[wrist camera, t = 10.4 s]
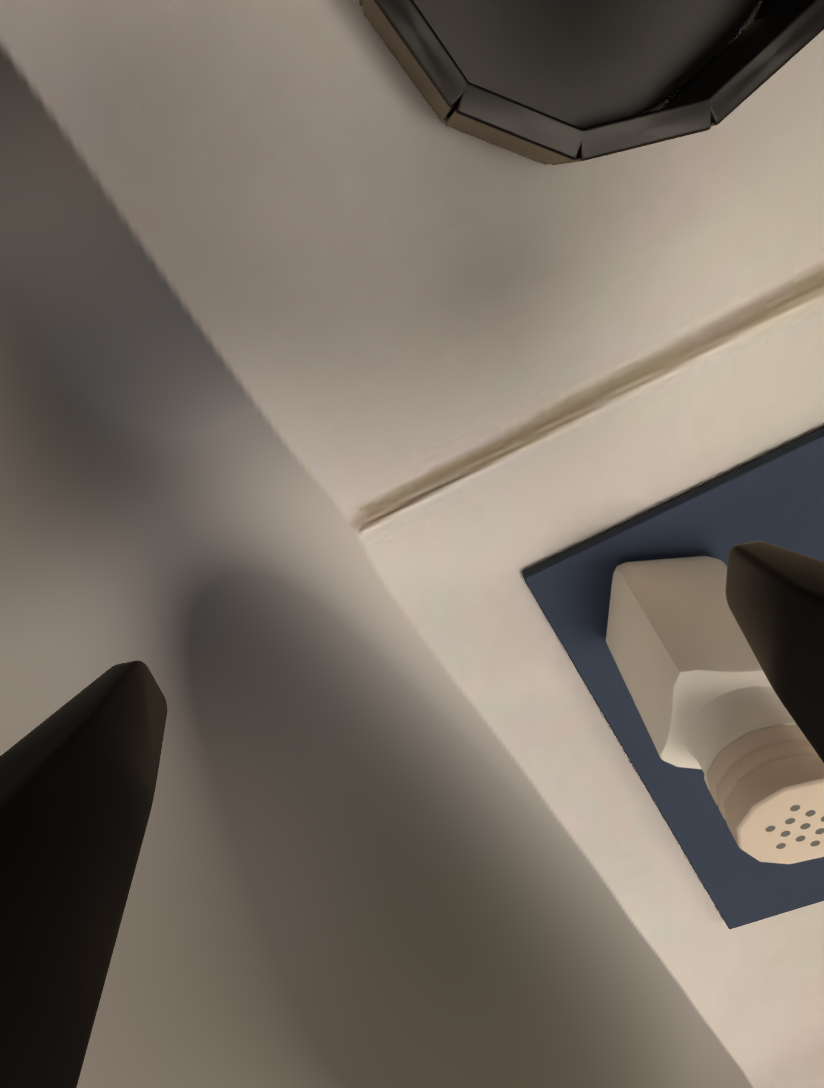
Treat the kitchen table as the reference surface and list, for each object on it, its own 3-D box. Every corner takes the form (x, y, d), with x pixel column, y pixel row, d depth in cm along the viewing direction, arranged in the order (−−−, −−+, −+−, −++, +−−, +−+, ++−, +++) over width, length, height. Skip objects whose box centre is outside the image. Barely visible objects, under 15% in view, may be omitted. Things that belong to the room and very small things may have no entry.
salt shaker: (720, 547, 22) (917, 763, 14) (702, 635, 24) (864, 869, 16) (608, 556, 22) (738, 776, 14) (599, 643, 24) (708, 880, 16)
